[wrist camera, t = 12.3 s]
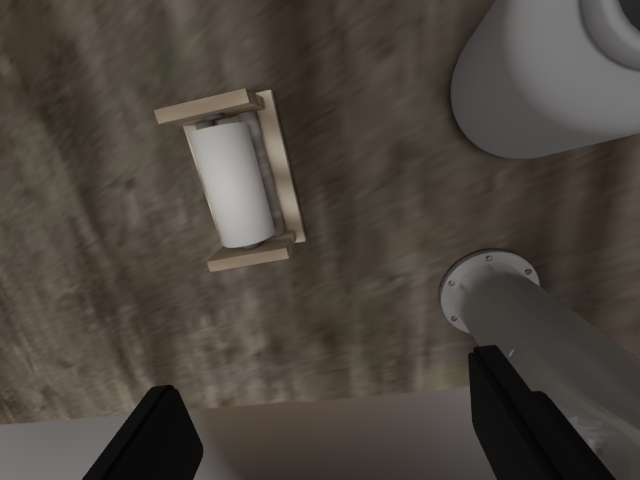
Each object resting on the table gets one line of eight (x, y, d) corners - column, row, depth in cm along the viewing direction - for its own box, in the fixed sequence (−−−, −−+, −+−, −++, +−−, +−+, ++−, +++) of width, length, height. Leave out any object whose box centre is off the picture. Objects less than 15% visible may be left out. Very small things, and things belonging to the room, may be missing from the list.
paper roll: (282, 226, 37) (264, 244, 31) (237, 233, 38) (214, 251, 32) (255, 121, 33) (230, 120, 27) (207, 133, 34) (174, 134, 29)
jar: (415, 1, 31) (673, -444, 7) (569, -72, 28) (1749, -1132, 5) (459, 175, 36) (689, 249, 12) (591, 126, 34) (1192, 104, 10)
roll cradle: (306, 238, 40) (298, 261, 32) (228, 251, 41) (203, 277, 33) (272, 91, 34) (254, 78, 27) (183, 112, 35) (141, 105, 28)
